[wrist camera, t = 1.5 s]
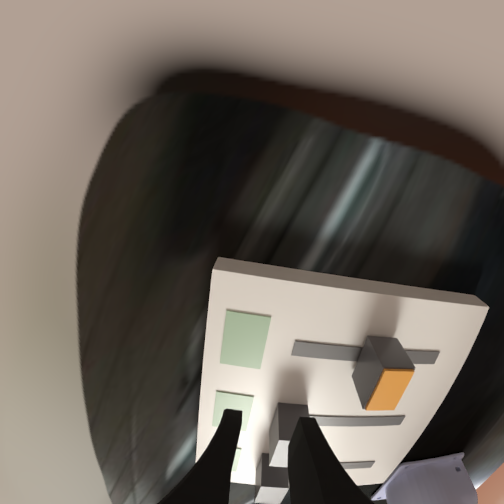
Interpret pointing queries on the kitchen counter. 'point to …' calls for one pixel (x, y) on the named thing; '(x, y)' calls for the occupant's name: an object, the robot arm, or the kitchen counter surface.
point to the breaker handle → (382, 373)
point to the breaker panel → (322, 365)
